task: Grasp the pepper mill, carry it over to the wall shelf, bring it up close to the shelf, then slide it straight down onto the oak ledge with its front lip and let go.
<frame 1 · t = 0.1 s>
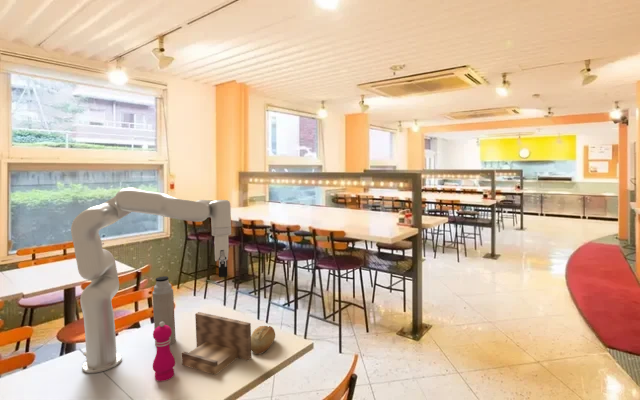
hand: (223, 273, 142), 31 cm above the table, tool pointing down, fingers open, 9 cm apart
bread roll: (263, 346, 145), on the table
pepper mill: (164, 376, 125), on the table
wall shelf: (210, 361, 134), on the table
thermos bottle: (165, 342, 149), on the table
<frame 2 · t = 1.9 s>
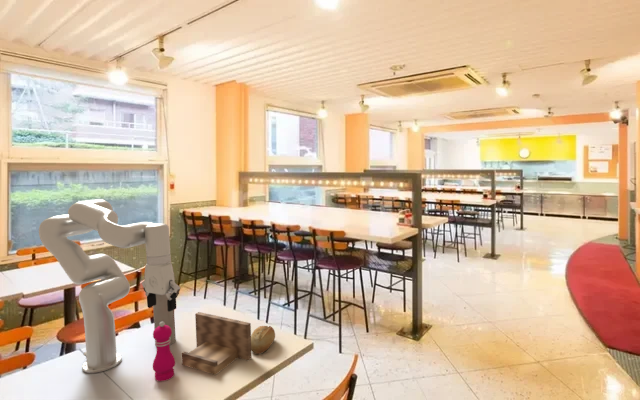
hand: (161, 308, 122), 25 cm above the table, tool pointing down, fingers open, 9 cm apart
nothing on the table moved.
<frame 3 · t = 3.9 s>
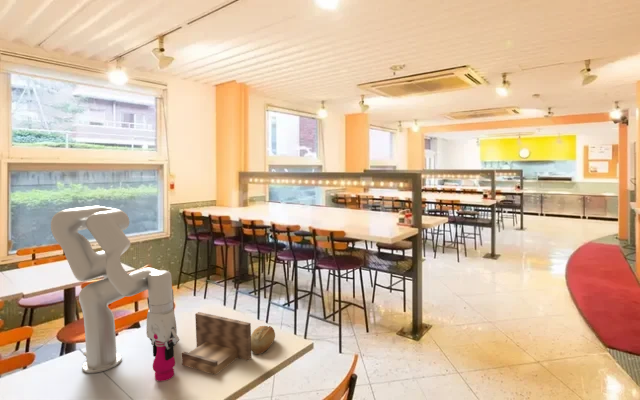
hand: (163, 356, 124), 7 cm above the table, tool pointing down, fingers closed on pepper mill, 5 cm apart
pepper mill: (164, 376, 125), on the table, touching gripper
everything else where it was.
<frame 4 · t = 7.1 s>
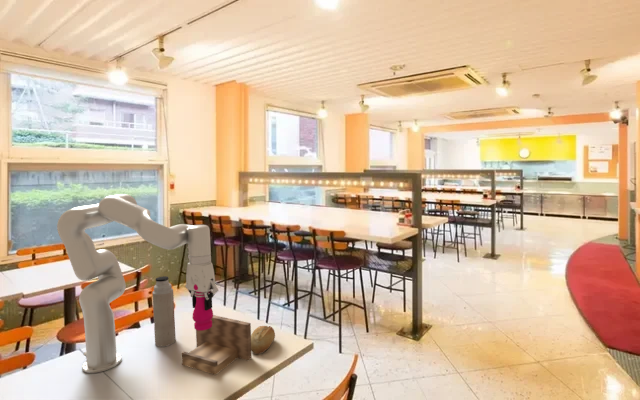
hand: (202, 307, 129), 22 cm above the table, tool pointing down, fingers closed on pepper mill, 5 cm apart
pepper mill: (203, 327, 130), point 15 cm above the table, touching gripper
everything else where it was.
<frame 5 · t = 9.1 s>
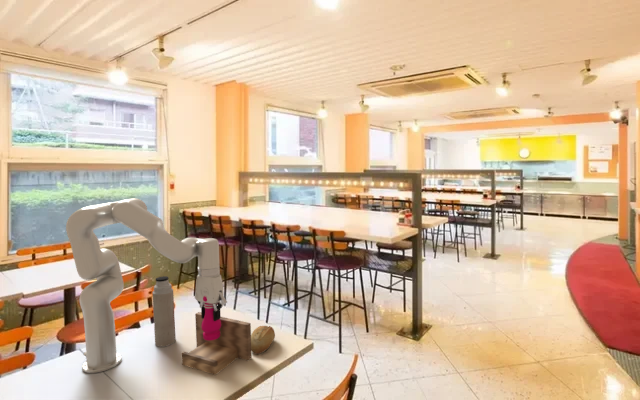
hand: (211, 317, 134), 17 cm above the table, tool pointing down, fingers closed on pepper mill, 5 cm apart
pepper mill: (211, 337, 135), point 9 cm above the table, touching gripper
everything else where it was.
when the fingers open (12 cm above the table, at t = 10.4 s): pepper mill drops 1 cm, resting on wall shelf.
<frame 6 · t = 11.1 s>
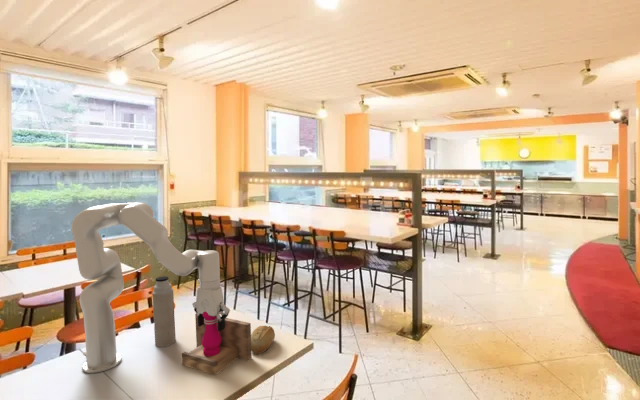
hand: (211, 327, 134), 13 cm above the table, tool pointing down, fingers open, 9 cm apart
pepper mill: (212, 352, 135), point 3 cm above the table, touching wall shelf
everything else where it was.
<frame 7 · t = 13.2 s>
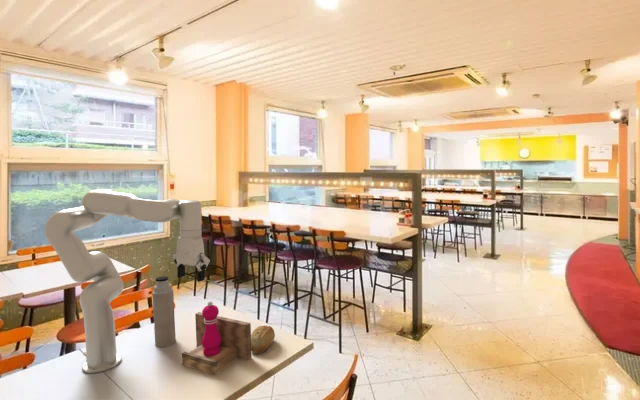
hand: (190, 278, 132), 32 cm above the table, tool pointing down, fingers open, 9 cm apart
nothing on the table moved.
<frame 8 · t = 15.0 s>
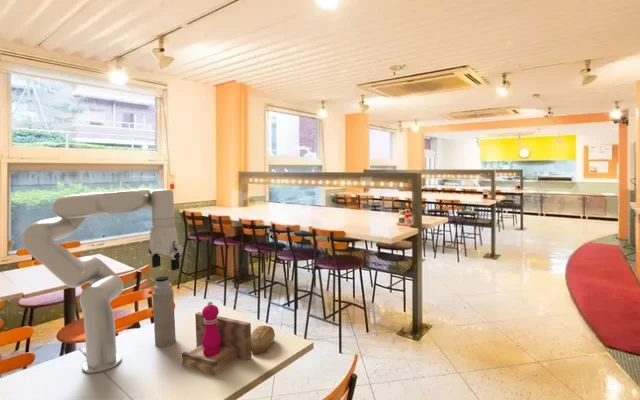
hand: (165, 268, 131), 36 cm above the table, tool pointing down, fingers open, 9 cm apart
nothing on the table moved.
at the end: pepper mill inside the target area (0.1 cm from its centre), point 2.8 cm above the table; pepper mill tilted 0°; the gripper is holding nothing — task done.
